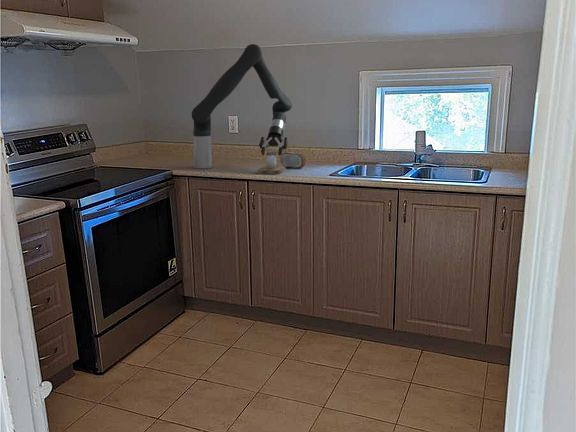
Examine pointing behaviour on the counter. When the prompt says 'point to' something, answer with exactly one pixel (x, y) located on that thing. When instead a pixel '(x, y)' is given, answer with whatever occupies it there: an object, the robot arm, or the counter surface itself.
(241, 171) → the counter surface
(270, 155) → the jar
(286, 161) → the tin
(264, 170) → the walnut board
